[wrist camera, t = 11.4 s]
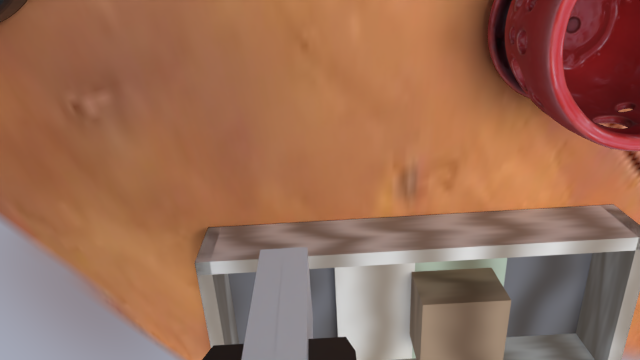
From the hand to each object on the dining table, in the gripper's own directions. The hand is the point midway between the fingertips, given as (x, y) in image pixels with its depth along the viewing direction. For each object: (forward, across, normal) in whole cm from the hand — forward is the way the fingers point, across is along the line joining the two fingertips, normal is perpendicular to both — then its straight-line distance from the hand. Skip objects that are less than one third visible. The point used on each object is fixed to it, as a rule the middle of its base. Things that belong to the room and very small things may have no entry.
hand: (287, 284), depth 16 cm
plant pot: (+25, +20, +5) cm, 32 cm away
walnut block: (+22, +12, -19) cm, 31 cm away
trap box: (+24, +9, -19) cm, 32 cm away
